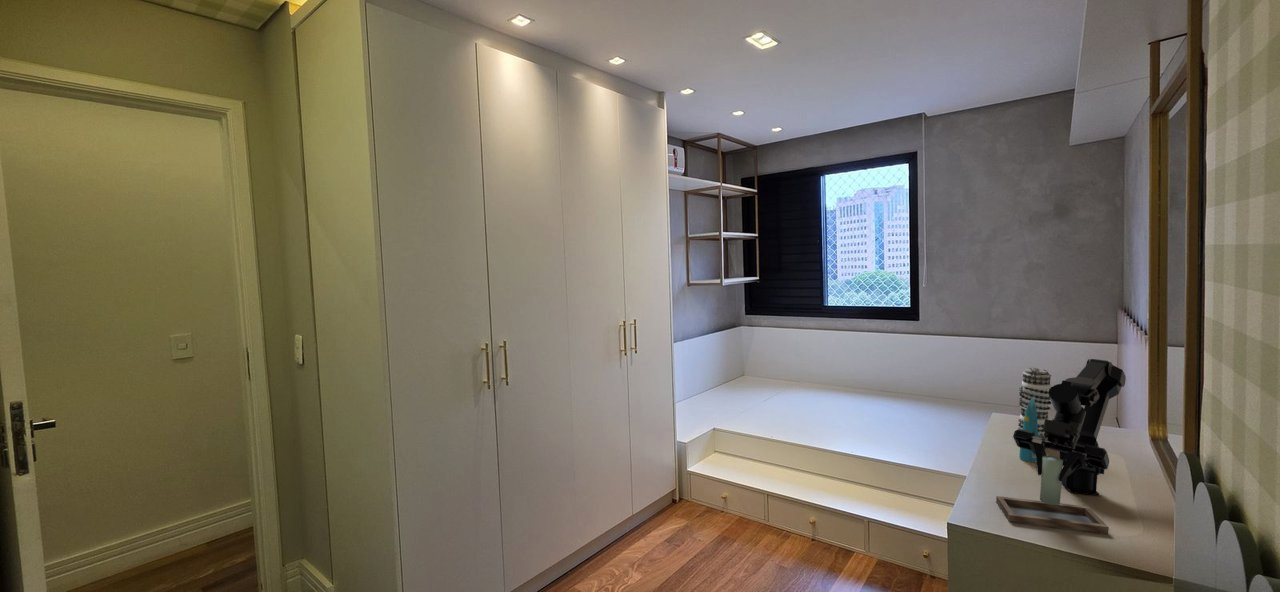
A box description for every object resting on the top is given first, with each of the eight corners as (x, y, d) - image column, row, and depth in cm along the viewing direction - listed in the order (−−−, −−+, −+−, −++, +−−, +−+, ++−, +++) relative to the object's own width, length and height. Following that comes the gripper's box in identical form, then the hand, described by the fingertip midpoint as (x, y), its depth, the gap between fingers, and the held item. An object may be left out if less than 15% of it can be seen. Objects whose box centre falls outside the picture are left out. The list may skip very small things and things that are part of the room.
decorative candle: (1056, 446, 181) (1061, 372, 178) (1028, 446, 181) (1033, 373, 178) (1036, 436, 190) (1041, 366, 187) (1010, 436, 190) (1014, 366, 187)
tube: (1020, 453, 175) (1023, 395, 173) (1039, 457, 172) (1042, 398, 170) (1017, 461, 169) (1021, 401, 167) (1037, 465, 166) (1040, 404, 164)
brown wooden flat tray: (1087, 513, 137) (1087, 506, 137) (1108, 534, 127) (1108, 527, 127) (996, 502, 143) (996, 495, 143) (1009, 522, 133) (1009, 515, 133)
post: (1049, 496, 137) (1052, 455, 136) (1064, 504, 133) (1067, 461, 132) (1035, 498, 136) (1038, 456, 135) (1049, 505, 132) (1052, 462, 131)
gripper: (1017, 398, 142) (998, 449, 137) (1109, 416, 127) (1091, 474, 122) (1027, 421, 148) (1009, 471, 142) (1116, 440, 133) (1099, 497, 127)
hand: (1049, 477), depth 133 cm, fingers closed on post, 4 cm apart
